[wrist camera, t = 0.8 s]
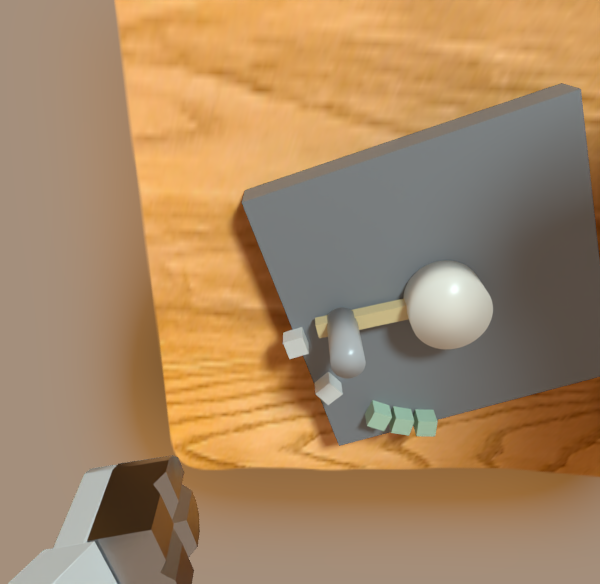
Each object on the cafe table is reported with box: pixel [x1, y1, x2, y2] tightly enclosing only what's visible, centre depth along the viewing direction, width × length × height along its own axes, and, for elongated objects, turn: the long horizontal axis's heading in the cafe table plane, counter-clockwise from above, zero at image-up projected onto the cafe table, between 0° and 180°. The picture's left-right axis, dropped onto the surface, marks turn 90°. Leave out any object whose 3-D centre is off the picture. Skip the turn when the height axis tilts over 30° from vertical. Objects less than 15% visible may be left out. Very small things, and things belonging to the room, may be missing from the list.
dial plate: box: [242, 83, 600, 446], centre depth 45 cm, size 25×24×5 cm
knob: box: [315, 260, 493, 378], centre depth 42 cm, size 13×6×6 cm, turn 104°
